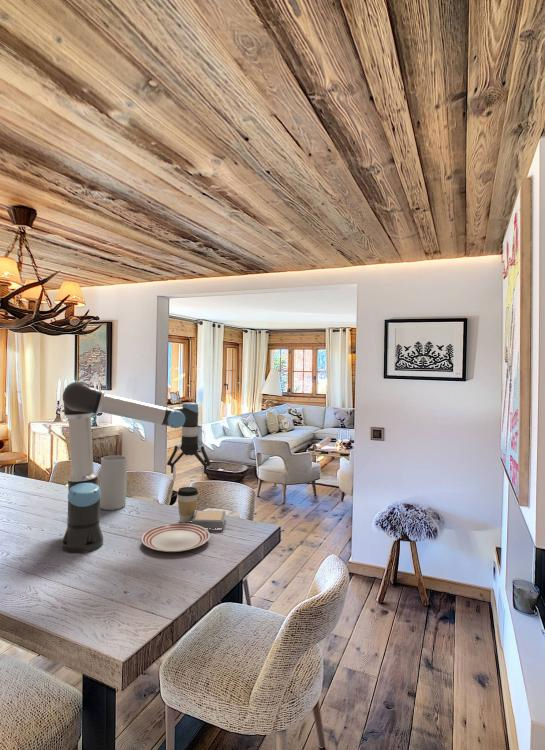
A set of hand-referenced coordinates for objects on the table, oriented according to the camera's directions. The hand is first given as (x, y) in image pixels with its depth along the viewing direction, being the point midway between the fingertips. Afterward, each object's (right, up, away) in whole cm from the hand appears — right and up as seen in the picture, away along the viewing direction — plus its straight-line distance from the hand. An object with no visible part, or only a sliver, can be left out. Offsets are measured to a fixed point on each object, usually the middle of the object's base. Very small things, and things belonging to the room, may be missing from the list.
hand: (188, 480), depth 196 cm
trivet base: (+10, -20, -4) cm, 22 cm away
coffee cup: (-1, -19, 0) cm, 19 cm away
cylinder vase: (-43, -18, +16) cm, 49 cm away
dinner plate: (0, -20, -25) cm, 32 cm away
